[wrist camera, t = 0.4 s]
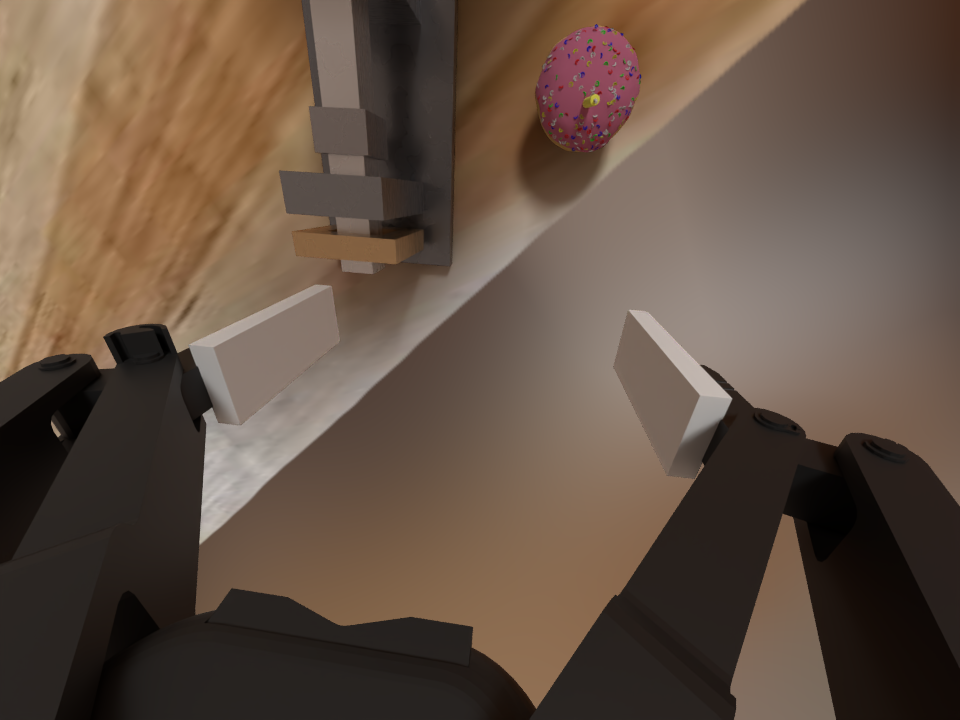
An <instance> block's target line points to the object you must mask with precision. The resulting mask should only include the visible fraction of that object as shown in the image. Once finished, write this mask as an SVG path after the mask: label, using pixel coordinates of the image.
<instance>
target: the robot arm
mask: <svg viewBox="0 0 960 720" xmlns="http://www.w3.org/2000/svg"><path fill="white" fill-rule="evenodd" d="M103 338H104V339H105V341H106V343H107V345H108V347H109V349H110V351H111V353H112V355H113V357H114V359H115V361H116V363H117V365H116V367H115V368H113V369H98V367H97V365H96V364H95V362H94V360H93V358H92V357H91V355H88V354H69V355H65V354H61V355H55V356H51V357H47V358H44V359H43V360H41V361H39V362H36V363H33V364H31V365H29V366H27V367H25V368H23V369H21V370H20V371H18V372H16V373H15V374H13V375H12V376H10V377H8V378H7V379H5V380H3V381H2V382H0V720H734V717H735V712H736V698H735V697H734V696H733V695H732V694H730V686H731V682H732V678H733V674H734V671H735V668H736V664H737V661H738V658H739V655H740V652H741V648H742V645H743V642H744V638H745V635H746V632H747V629H748V625H749V622H750V619H751V616H752V612H753V609H754V606H755V602H756V599H757V596H758V593H759V589H760V586H761V583H762V580H763V576H764V573H765V570H766V566H767V563H768V560H769V557H770V553H771V550H772V547H773V543H774V540H775V537H776V533H777V530H778V527H779V524H780V520H781V517H782V514H785V515H788V516H792V517H793V519H794V523H795V528H796V533H797V537H798V542H799V546H800V552H801V556H802V561H803V566H804V570H805V575H806V579H807V584H808V589H809V594H810V599H811V603H812V608H813V612H814V617H815V622H816V627H817V631H818V636H819V641H820V645H821V650H822V655H823V660H824V664H825V669H826V674H827V678H828V683H829V688H830V693H831V697H832V702H833V707H834V711H835V716H836V720H960V506H959V505H958V503H957V502H956V501H955V499H954V498H953V497H952V496H951V494H950V493H949V492H948V491H947V489H946V488H945V486H944V485H943V484H942V482H941V481H940V480H939V478H938V477H937V476H936V475H935V473H934V472H933V471H932V469H931V468H930V467H929V465H928V464H927V463H926V462H925V461H924V460H923V459H922V458H920V457H919V456H918V455H916V454H914V453H913V452H911V451H909V450H908V449H907V448H906V447H905V446H903V445H901V444H896V442H894V441H891V440H888V439H882V438H879V437H876V436H873V435H868V434H864V433H850V434H848V435H846V436H845V438H844V439H843V440H842V442H841V443H840V445H839V446H838V447H836V446H833V445H828V444H825V443H821V442H818V441H814V440H810V439H806V434H805V431H804V430H803V429H802V428H801V427H800V426H799V425H798V424H797V423H795V422H794V421H792V420H791V419H789V418H787V417H784V416H782V415H780V414H778V413H775V412H772V411H769V410H765V409H760V408H754V407H753V406H752V405H751V404H750V403H748V402H747V401H746V400H745V399H744V398H743V397H742V396H741V395H740V394H739V393H738V392H737V391H735V390H734V388H733V387H732V386H731V385H730V384H728V383H727V382H726V381H725V380H724V378H722V376H720V375H719V374H718V373H717V372H715V371H713V370H712V369H710V368H708V367H706V366H705V365H699V364H698V363H697V362H696V361H695V360H694V359H693V358H692V357H691V356H690V355H689V354H688V353H687V352H686V351H685V350H684V349H683V348H682V347H681V346H680V345H679V344H678V343H677V342H676V341H675V340H674V339H673V338H672V336H671V335H670V334H669V333H667V331H666V330H665V329H663V327H662V326H661V325H660V324H659V323H658V322H657V321H656V320H655V319H654V318H653V317H652V316H651V315H650V314H649V313H648V312H647V311H636V310H628V313H627V316H626V320H625V324H624V328H623V332H622V336H621V339H620V343H619V347H618V351H617V355H616V359H615V362H614V366H613V367H614V369H615V371H616V373H617V375H618V377H619V379H620V381H621V383H622V385H623V388H624V390H625V392H626V394H627V396H628V397H629V400H630V402H631V403H632V406H633V408H634V410H635V412H636V414H637V416H638V418H639V420H640V422H641V424H642V426H643V428H644V430H645V432H646V434H647V436H648V438H649V440H650V442H651V444H652V446H653V448H654V450H655V452H656V454H657V456H658V458H659V461H660V463H661V465H662V466H663V469H664V470H665V473H666V475H667V476H674V477H683V478H692V479H695V477H696V475H697V473H698V471H699V469H700V467H701V464H702V462H703V464H704V468H703V469H702V471H701V472H700V474H699V475H698V477H697V478H696V480H695V481H694V483H693V484H692V486H691V487H690V489H689V490H688V492H687V493H686V495H685V497H684V498H683V500H682V501H681V503H680V504H679V506H678V507H677V509H676V510H675V512H674V513H673V515H672V516H671V518H670V519H669V521H668V522H667V524H666V525H665V527H664V528H663V530H662V532H661V533H660V534H659V536H658V537H657V539H656V540H655V542H654V543H653V545H652V547H651V548H650V550H649V551H648V553H647V554H646V556H645V557H644V559H643V560H642V562H641V563H640V565H639V566H638V568H637V569H636V571H635V572H634V574H633V576H632V577H631V579H630V580H629V581H628V583H627V585H626V586H625V587H624V589H623V590H622V592H621V593H620V594H619V595H618V596H616V595H615V596H614V597H613V598H612V599H611V600H610V602H609V603H608V604H607V606H606V607H605V609H604V610H603V611H602V613H601V614H600V616H599V617H598V619H597V620H596V622H595V623H594V625H593V626H592V628H591V629H590V631H589V632H588V633H587V635H586V636H585V638H584V640H583V641H582V642H581V644H580V645H579V647H578V648H577V650H576V651H575V653H574V654H573V656H572V657H571V659H570V660H569V662H568V663H567V665H566V666H565V668H564V669H563V671H562V672H561V674H560V675H559V677H558V678H557V679H556V681H555V682H554V684H553V685H552V687H551V688H550V690H549V691H548V693H547V695H546V696H545V697H544V699H543V700H542V702H541V703H540V705H539V706H538V708H537V709H536V708H535V706H534V705H533V703H532V702H531V700H530V699H529V697H528V696H527V694H526V693H525V692H524V691H523V689H522V688H521V687H520V686H519V685H518V683H517V682H516V681H515V680H514V679H513V678H512V677H511V676H510V675H509V674H508V673H507V672H506V671H505V670H504V669H503V668H502V667H501V666H500V665H498V664H497V663H496V662H494V661H493V660H491V659H490V658H489V657H487V656H486V655H485V654H483V653H481V652H479V651H477V650H475V649H474V648H471V647H472V633H473V627H470V626H465V625H458V624H452V623H446V622H439V621H433V620H427V619H421V618H414V617H408V618H400V619H393V620H386V621H379V622H372V623H365V624H357V625H350V626H340V625H337V624H335V623H333V622H331V621H329V620H327V619H326V618H324V617H322V616H321V615H319V614H317V613H315V612H313V611H312V610H310V609H308V608H306V607H305V606H303V605H301V604H299V603H297V602H295V601H294V600H292V599H290V598H288V597H283V596H277V595H270V594H264V593H257V592H252V591H245V590H239V589H231V590H230V591H229V593H228V594H227V596H226V597H225V598H224V600H223V601H222V603H221V604H220V605H219V607H218V608H217V609H216V610H215V611H210V612H206V613H202V614H198V615H195V604H196V587H197V571H198V553H199V538H200V521H201V505H202V488H203V471H204V455H205V438H206V422H205V420H204V417H203V415H202V414H203V413H205V412H206V411H207V410H209V409H210V408H213V410H214V413H215V415H216V418H217V421H218V423H225V424H234V425H242V424H243V423H244V422H245V421H246V420H248V419H249V418H250V417H251V416H252V415H253V414H255V413H256V412H257V411H258V410H259V409H261V408H262V407H263V406H264V405H265V404H266V403H268V402H269V401H270V400H271V399H272V398H274V397H275V396H276V395H277V394H278V393H279V392H281V391H282V390H283V389H284V388H285V387H287V386H288V385H289V384H290V383H291V382H292V381H294V380H295V379H296V378H297V377H298V376H300V375H301V374H302V373H303V372H304V371H306V370H307V369H308V368H309V367H310V366H311V365H313V364H314V363H315V362H316V361H317V360H319V359H320V358H321V357H322V356H323V355H324V354H326V353H327V352H328V351H329V350H330V349H332V348H333V347H334V346H335V345H336V344H337V343H339V342H340V336H339V330H338V323H337V317H336V310H335V304H334V298H333V291H332V286H328V285H313V286H311V287H309V288H307V289H305V290H303V291H301V292H299V293H297V294H294V295H292V296H290V297H288V298H286V299H284V300H282V301H280V302H278V303H275V304H273V305H271V306H269V307H267V308H265V309H263V310H261V311H259V312H256V313H254V314H252V315H250V316H248V317H246V318H244V319H242V320H240V321H237V322H235V323H233V324H231V325H229V326H227V327H225V328H223V329H221V330H218V331H216V332H214V333H212V334H210V335H208V336H206V337H204V338H202V339H199V340H197V341H195V342H193V343H191V344H189V345H188V346H189V348H188V349H186V350H183V351H181V352H179V353H177V351H176V349H175V346H174V344H173V341H172V339H171V336H170V334H169V332H168V329H167V327H166V326H165V325H162V324H142V325H135V326H130V327H125V328H122V329H118V330H115V331H113V332H110V333H108V334H106V335H105V336H104V337H103ZM51 420H52V422H53V423H54V425H55V426H56V428H57V429H58V431H59V432H60V434H61V435H60V436H59V437H57V436H56V434H55V433H54V431H53V429H52V426H51Z"/></svg>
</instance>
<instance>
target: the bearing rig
mask: <svg viewBox="0 0 960 720" xmlns="http://www.w3.org/2000/svg"><path fill="white" fill-rule="evenodd" d="M302 7H303V15H304V23H305V31H306V39H307V47H308V55H309V62H310V70H311V78H312V86H313V94H314V102H315V106H316V107H322V99H321V91H320V83H319V74H318V66H317V58H316V49H315V41H314V33H313V24H312V16H311V7H310V0H302ZM368 15H369V30H370V46H371V62H372V77H373V93H374V108H375V115H377V116H379V117H381V118H383V119H384V120H386V127H387V147H388V160H378V171H379V177H370V176H355V175H340V174H330V166H329V158H328V155H326V154H321V156H322V164H323V172H324V173H309V172H294V171H279V173H280V179H281V184H282V190H283V195H284V201H285V207H286V212H287V213H289V214H302V215H315V216H329V219H330V225H336V217H342V218H355V219H369V220H382V226H383V227H396V228H409V229H422V230H424V249H423V250H421V251H420V252H418V253H416V254H414V255H412V256H411V257H409V258H407V259H405V260H403V261H402V262H406V263H418V264H429V265H441V266H450V265H451V264H452V242H453V199H454V155H455V111H456V67H457V23H458V0H368Z"/></svg>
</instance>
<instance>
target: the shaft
mask: <svg viewBox="0 0 960 720" xmlns="http://www.w3.org/2000/svg"><path fill="white" fill-rule="evenodd" d="M310 7H311V16H312V24H313V33H314V41H315V49H316V58H317V66H318V74H319V83H320V91H321V99H322V107H316V106H309V110H310V118H311V125H312V133H313V140H314V148H315V152H316V153H321V154H326V155H328V158H329V166H330V174H340V175H355V176H370V177H379V171H378V160H388V147H387V127H386V120H384V119H383V118H381V117H379V116H377V115H375V108H374V93H373V77H372V62H371V46H370V30H369V15H368V0H310ZM336 224H337V232H345V233H358V234H371V235H383V233H382V220H369V219H355V218H342V217H336ZM341 266H342V271H343V272H354V273H366V274H374V273H376V272H378V271H380V270H382V269H384V268H385V264H384V263H374V262H363V261H351V260H341Z"/></svg>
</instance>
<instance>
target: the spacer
mask: <svg viewBox="0 0 960 720" xmlns="http://www.w3.org/2000/svg"><path fill="white" fill-rule="evenodd" d="M382 233H383V235H371V234H358V233H345V232H337V224H336V225H329V226H323V227H317V228H311V229H305V230H298V231H292V235H293V241H294V246H295V252H296V256H304V257H316V258H327V259H339V260H351V261H363V262H374V263H386V264H398V263H400V262H402V261H403V260H405V259H407V258H409V257H411V256H412V255H414V254H416V253H418V252H420V251H421V250H423V249H424V230H422V229H409V228H396V227H383V226H382Z"/></svg>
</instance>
